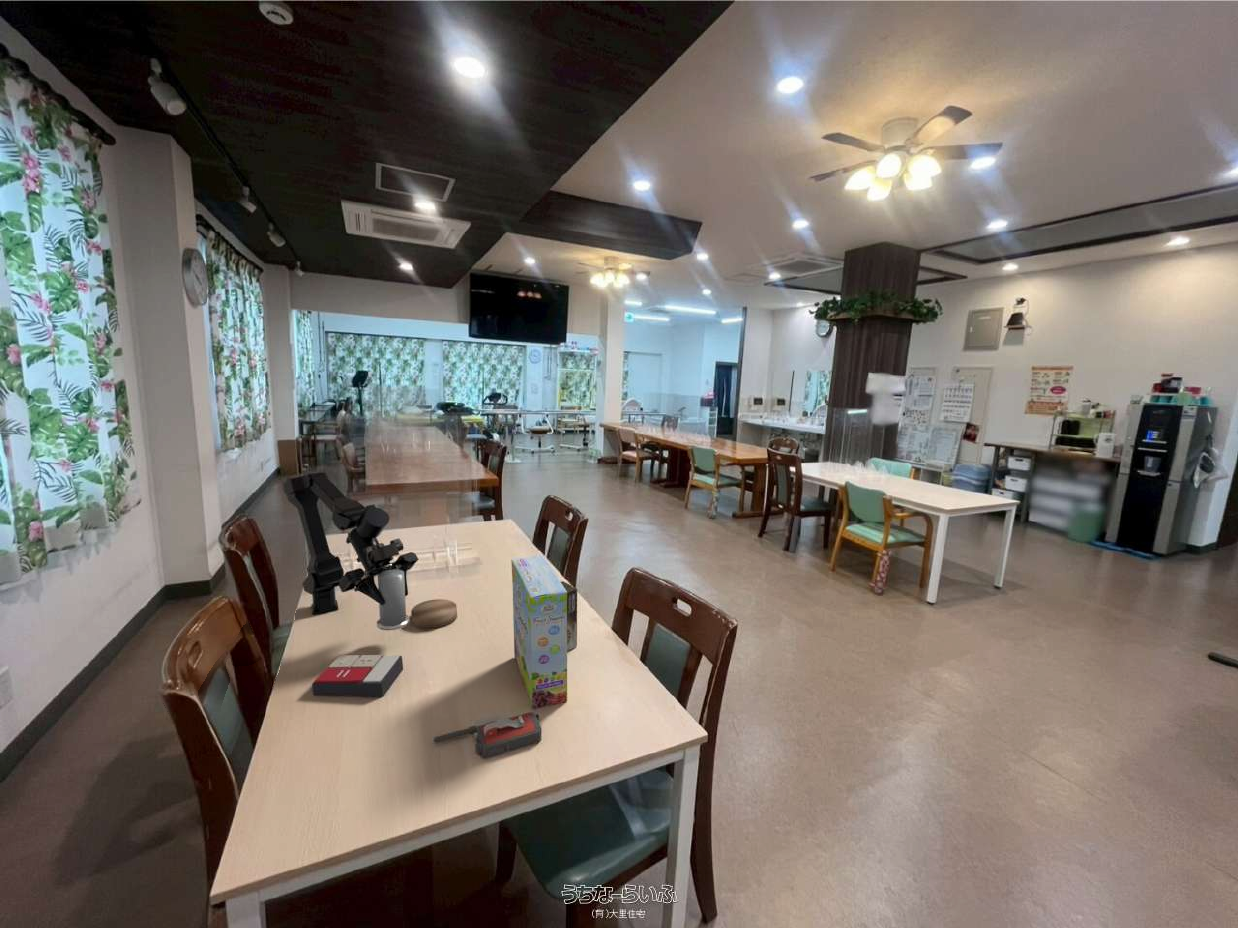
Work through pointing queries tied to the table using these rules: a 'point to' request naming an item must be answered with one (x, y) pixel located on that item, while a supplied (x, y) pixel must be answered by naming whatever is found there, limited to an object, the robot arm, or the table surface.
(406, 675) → the table surface
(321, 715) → the table surface
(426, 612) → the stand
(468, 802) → the table surface
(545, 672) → the snack box
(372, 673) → the calculator
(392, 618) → the grey cylinder
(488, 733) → the walkie-talkie
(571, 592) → the coffee box
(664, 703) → the table surface
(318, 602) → the robot arm
